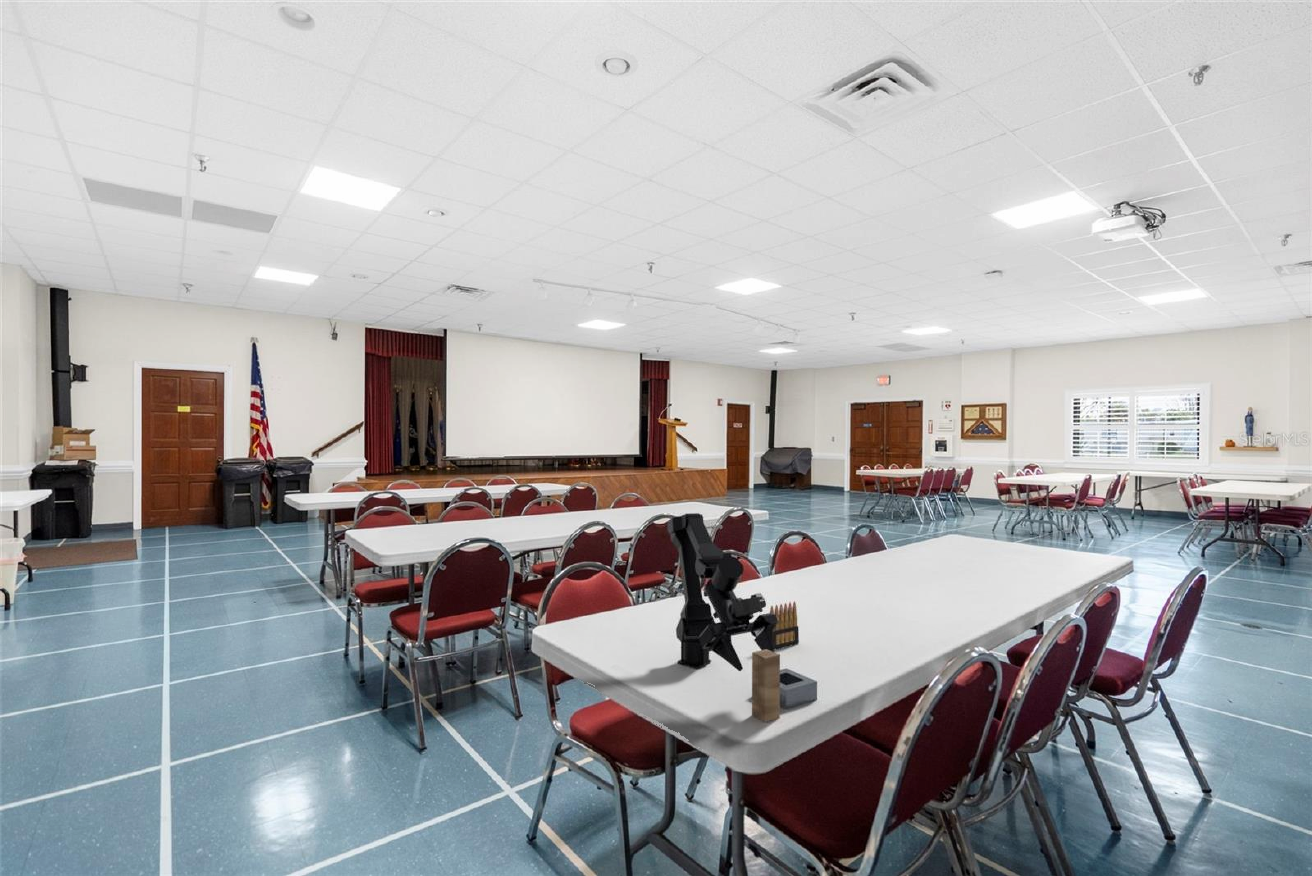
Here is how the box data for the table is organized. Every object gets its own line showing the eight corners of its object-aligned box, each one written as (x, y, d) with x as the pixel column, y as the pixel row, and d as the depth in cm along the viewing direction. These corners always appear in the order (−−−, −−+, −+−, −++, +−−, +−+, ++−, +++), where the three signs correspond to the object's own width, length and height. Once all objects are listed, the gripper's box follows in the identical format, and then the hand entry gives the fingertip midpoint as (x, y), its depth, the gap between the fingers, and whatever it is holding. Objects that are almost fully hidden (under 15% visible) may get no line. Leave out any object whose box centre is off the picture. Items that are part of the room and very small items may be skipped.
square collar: (756, 694, 139) (756, 676, 139) (786, 685, 144) (786, 668, 144) (786, 709, 131) (786, 690, 131) (817, 699, 136) (817, 681, 136)
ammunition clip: (794, 642, 176) (794, 600, 177) (798, 643, 175) (799, 601, 175) (766, 648, 171) (767, 605, 171) (771, 650, 169) (771, 606, 169)
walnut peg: (751, 715, 128) (752, 652, 128) (766, 710, 130) (766, 649, 130) (765, 722, 125) (765, 658, 125) (779, 718, 127) (779, 654, 127)
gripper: (707, 586, 129) (741, 654, 120) (773, 577, 139) (809, 638, 130) (685, 615, 136) (716, 682, 126) (749, 604, 146) (782, 665, 136)
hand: (757, 666), depth 129 cm, fingers open, 9 cm apart
